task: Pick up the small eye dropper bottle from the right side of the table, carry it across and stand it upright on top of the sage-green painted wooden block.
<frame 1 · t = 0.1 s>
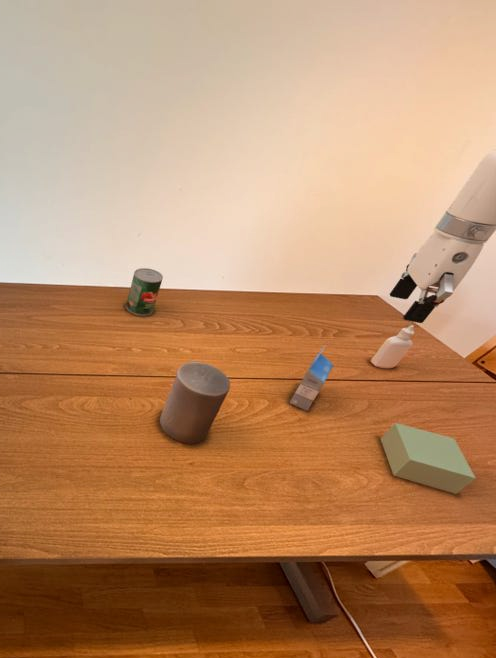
hand: (404, 308, 86), 22 cm above the table, tool pointing down, fingers open, 9 cm apart
eye dropper bottle: (381, 365, 108), on the table
canned tomato: (139, 309, 124), on the table
pillar candle: (182, 426, 88), on the table
block: (415, 464, 83), on the table
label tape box: (301, 398, 97), on the table
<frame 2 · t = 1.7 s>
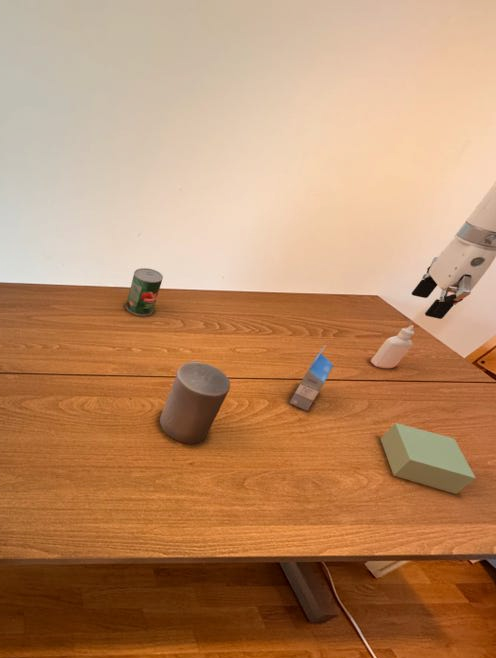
hand: (425, 306, 97), 17 cm above the table, tool pointing down, fingers open, 9 cm apart
nothing on the table moved.
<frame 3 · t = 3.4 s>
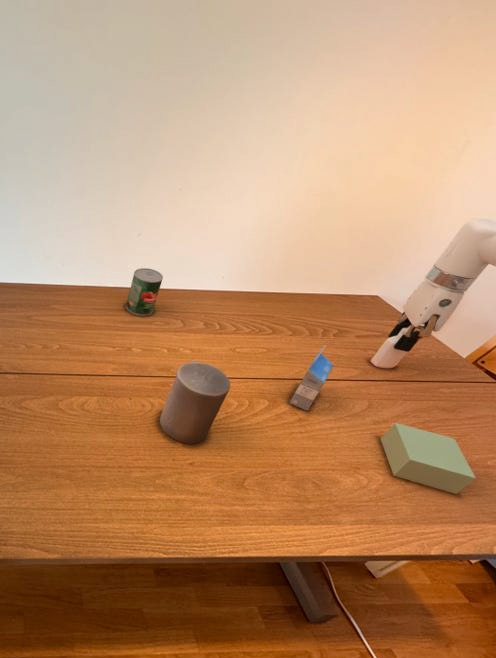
hand: (398, 343, 104), 7 cm above the table, tool pointing down, fingers closed on eye dropper bottle, 4 cm apart
eye dropper bottle: (381, 365, 108), on the table, touching gripper
everything else where it was.
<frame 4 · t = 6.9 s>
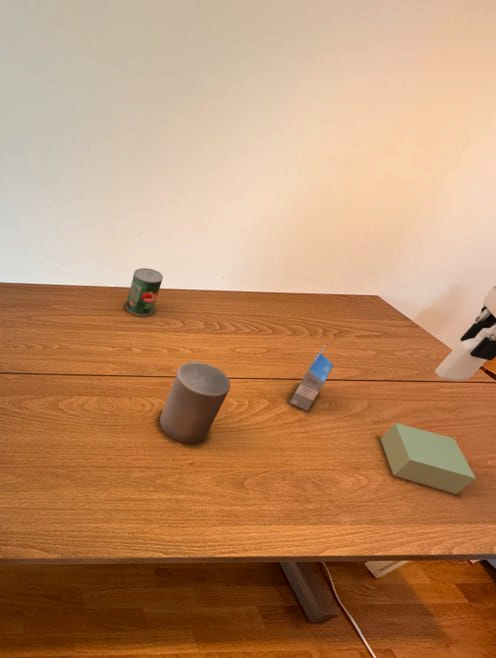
hand: (475, 349, 77), 21 cm above the table, tool pointing down, fingers closed on eye dropper bottle, 4 cm apart
eye dropper bottle: (449, 376, 82), point 14 cm above the table, touching gripper
everything else where it was.
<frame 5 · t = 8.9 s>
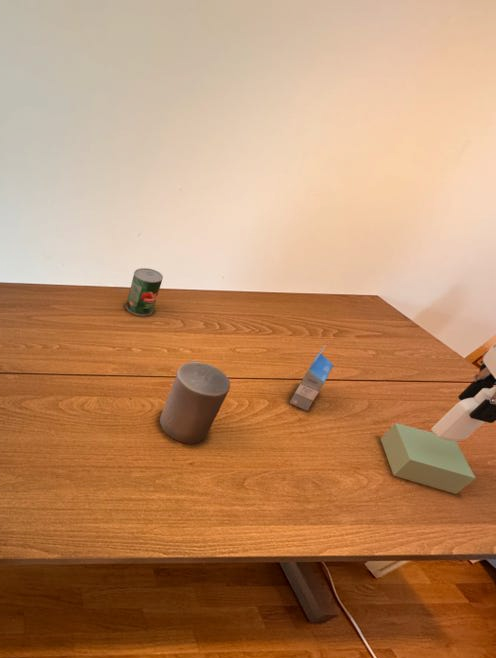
hand: (474, 409, 73), 16 cm above the table, tool pointing down, fingers closed on eye dropper bottle, 4 cm apart
eye dropper bottle: (446, 435, 77), point 9 cm above the table, touching gripper
everything else where it was.
when the fingers open (12 cm above the table, at t = 10.3 s): eye dropper bottle stays where it is, resting on block.
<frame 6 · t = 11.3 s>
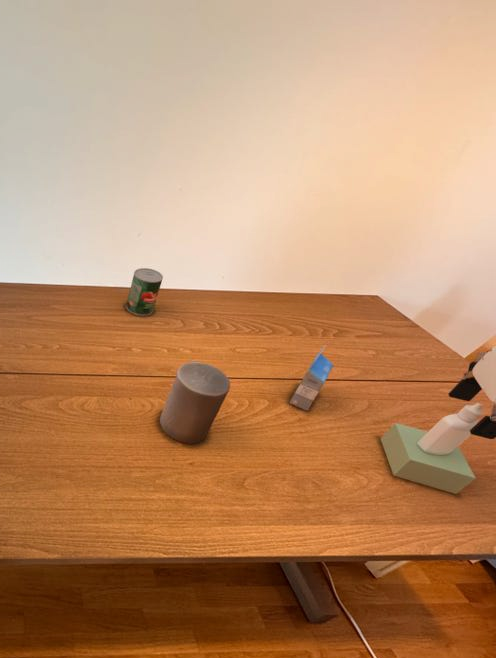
hand: (468, 416, 74), 14 cm above the table, tool pointing down, fingers open, 9 cm apart
eye dropper bottle: (432, 449, 80), point 5 cm above the table, touching block
everything else where it was.
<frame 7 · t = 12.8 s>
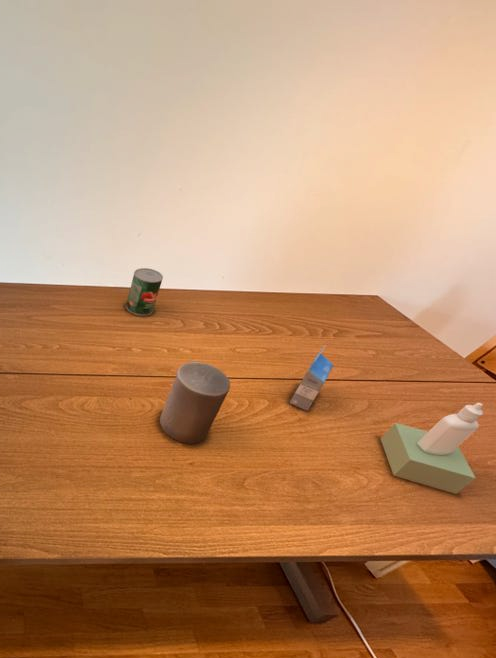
nothing on the table moved.
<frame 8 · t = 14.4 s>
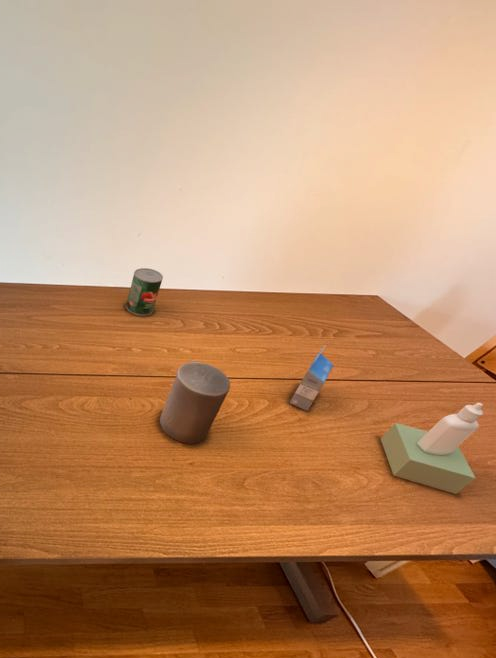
nothing on the table moved.
at the end: eye dropper bottle 0.0 cm off-centre on the block, point 4.8 cm above the block's base; eye dropper bottle tilted 0°; the gripper is holding nothing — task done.
